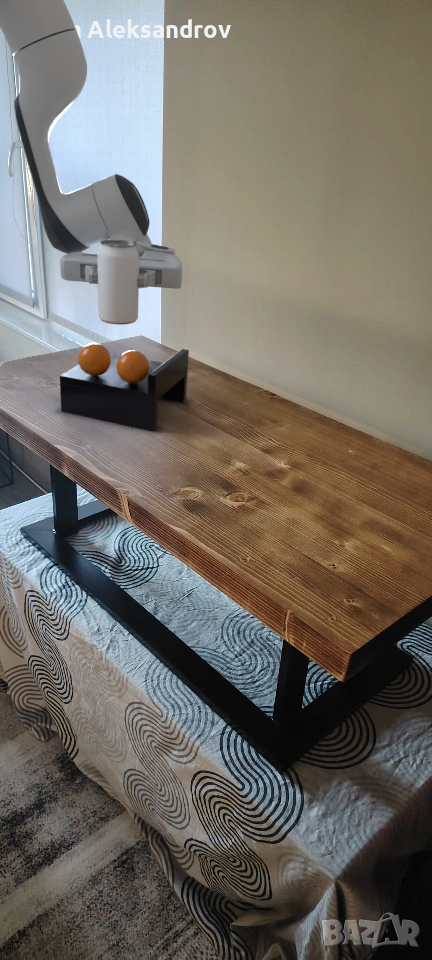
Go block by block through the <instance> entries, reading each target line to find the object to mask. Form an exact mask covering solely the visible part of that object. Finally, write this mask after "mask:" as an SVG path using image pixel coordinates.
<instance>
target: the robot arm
mask: <svg viewBox="0 0 432 960" xmlns="http://www.w3.org/2000/svg"><path fill="white" fill-rule="evenodd" d="M65 2H66V1H65V0H0V30H1V32H2V34H3V35H4V38H5V40H6V43H7V45H8V47H9V50H10V52H11V54H12V57H13V59H14V61H15V64H16V68H17V73H18V79H19V81H18V82H19V88H18V89H19V91H18V94H17V96H16V97H15V99H14V101H13V108H14V109H13V110H14V116H15V121H16V126H17V130H18V133H19V137H20V141H21V145H22V148H23V152H24V155H25V159H26V162H27V166H28V170H29V173H30V176H31V180H32V184H33V188H34V190H35V194H36V198H37V202H38V206H39V211H40V215H41V219H42V225H43V229H44V230H43V231H44V232H45V235H46V238H47V239H48V241H49V243H50V245H51V246H52V247H53V248H54V249H55V250H57V251H59V252H62V253H64V255H63V256H62V257H60V259H59V261H60V262H59V265H60V267H59V268H60V271H59V272H60V278H61V279H62V280H64V281H68V282H82V283H88V284H90V285H91V284H93V285H98V252H88V251H87V252H86V250H88V249H90V248H91V247H92V246H95V245H98V244H100V242H101V241H104V240H124V241H130V242H134V243H136V249H137V251H138V254H139V276H138V287H139V289H146V288H160V289H161V288H163V289H165V288H166V289H173V290H177V289H181V288H182V283H183V263H182V261H181V259H180V258H179V256H177V255H176V249H174V248H173V247H168V246H162V245H158V244H155V243H153V242H152V240H151V238H150V237H149V234H148V232H149V228H150V223H151V222H150V217H149V214H148V210H147V207H146V204H145V202H144V199H143V197H142V195H141V193H140V191H139V188H137V187H136V185H135V184H134V183H133V182H132V181H131V180H129V179H127V178H126V177H125V176H123V175H122V174H121V175H120V174H117V173H115V174H112V175H110V176H107V177H104V178H102V179H100V180H97V181H94V182H93V183H90V184H88V185H86V186H83V187H81V188H78V189H75V190H73V191H70V192H67V193H65V192H63V191H62V190H61V187H60V183H59V179H58V175H57V172H56V168H55V163H54V160H53V157H52V153H51V149H50V135H51V133H52V130H53V128H54V126H55V125H56V123H57V121H58V120H59V119H60V118H61V117H62V115H63V114H65V112H67V110H68V109H69V108H70V107H71V106H72V105H73V104H74V102H75V101H76V100H77V99H78V97H79V96H80V95H81V93H82V91H83V89H84V86H85V83H86V81H87V75H88V63H87V59H86V55H85V52H84V48H83V45H82V41H81V39H80V37H79V33H78V31H77V28H76V26H75V23H74V20H73V18H72V16H71V14H70V12H69V9H68V6H67V4H66V3H65Z"/></svg>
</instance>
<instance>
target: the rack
mask: <svg viewBox="0 0 432 960" xmlns="http://www.w3.org/2000/svg"><path fill="white" fill-rule="evenodd" d="M189 354H190V351H189V349H185V348H182V349H180V350H179V351H178V352H176V353H175V354H173V355H172V356H171V357H170V358H168V359H167V360H166V361H164V362H161V361H157V360H151V359H148V358H147V356H145V355H146V354H144V353H143V352H141V351H139V350H135V349H134V350H131V349H130V350H126V351H125V352H123V353H122V354H119V353H114V352H109V350H108V349H107V347H105V346H104V345H103V344H101V343H97V342H91V343H87V344H86V345H84V346H83V347H82V348H81V349H80V351H79V352H78V355H77V356H78V357H77V362H78V364H76V365H75V366H74V367H72V368H70V369H69V370H67V371H65V372H63V373H62V374H60V375H59V391H60V392H59V393H60V395H59V396H60V411H61V412H64V413H68V414H72V415H78V416H81V417H85V418H90V419H95V420H100V421H104V422H108V423H114V424H117V425H123V426H128V427H132V428H135V429H140V430H146V431H150V432H155V431H156V430H157V427H158V400H159V399H162V400H167V401H173V402H178V403H181V404H182V403H185V402H186V401H187V388H188V387H187V385H188V370H189V356H190V355H189Z"/></svg>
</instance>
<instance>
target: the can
mask: <svg viewBox="0 0 432 960" xmlns="http://www.w3.org/2000/svg"><path fill="white" fill-rule="evenodd" d="M99 244H100V245H99V248H98V250H97V253H98V284H97V307H98V308H97V309H98V318H99V319H100V321H101V322H103V323H106V324H110V325H119V326H120V325H122V326H123V325H131V324H134V323H135V322H137V320H138V319H139V294H140V293H139V289H140V288H139V287H138V276H139V254H138V251H137V249H136V243H134V242H130V241H124V240H110V239H108V240H104V241H101V242H100V243H99Z"/></svg>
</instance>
